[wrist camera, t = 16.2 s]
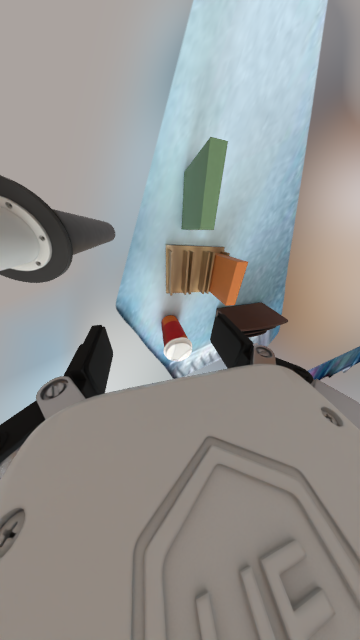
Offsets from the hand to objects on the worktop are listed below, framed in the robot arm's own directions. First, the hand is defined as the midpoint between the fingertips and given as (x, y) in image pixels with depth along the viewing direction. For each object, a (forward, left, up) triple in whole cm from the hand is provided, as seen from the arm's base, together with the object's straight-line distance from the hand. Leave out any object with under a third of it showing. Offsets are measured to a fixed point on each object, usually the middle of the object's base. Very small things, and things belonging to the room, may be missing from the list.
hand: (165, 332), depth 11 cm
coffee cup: (+6, -20, -31) cm, 37 cm away
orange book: (+19, -2, -29) cm, 35 cm away
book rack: (+13, -2, -30) cm, 33 cm away
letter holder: (+34, -20, -31) cm, 50 cm away
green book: (+10, +13, -30) cm, 35 cm away
